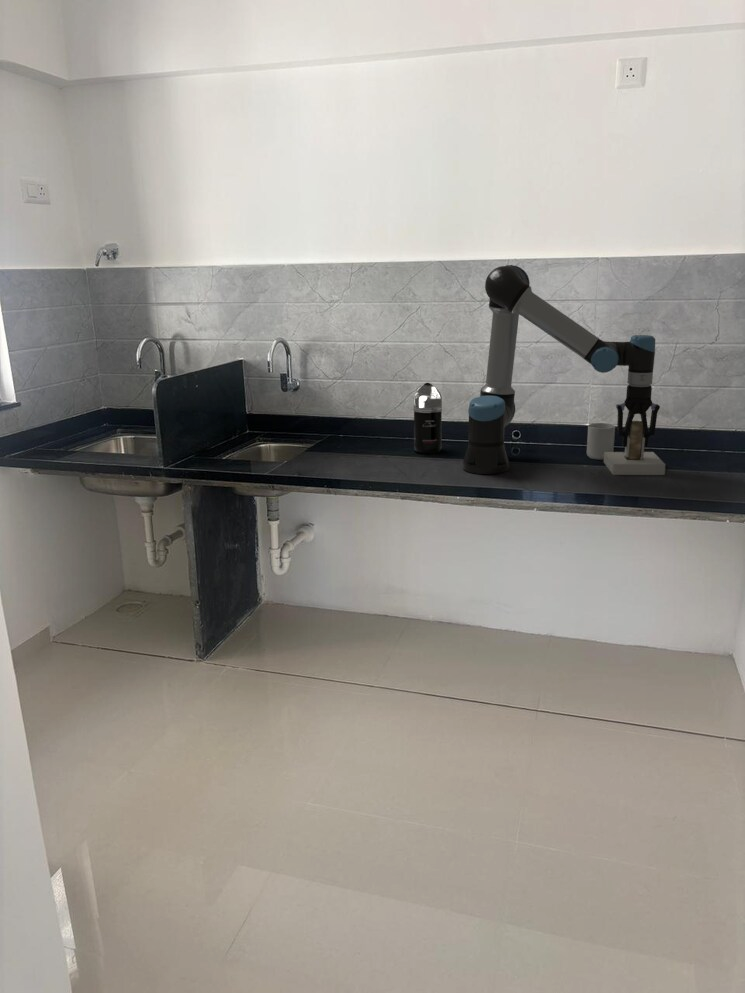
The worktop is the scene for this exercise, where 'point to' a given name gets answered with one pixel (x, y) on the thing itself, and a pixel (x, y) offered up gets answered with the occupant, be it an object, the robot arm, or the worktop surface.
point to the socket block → (634, 464)
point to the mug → (600, 440)
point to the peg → (635, 440)
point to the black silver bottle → (427, 419)
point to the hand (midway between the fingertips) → (633, 456)
